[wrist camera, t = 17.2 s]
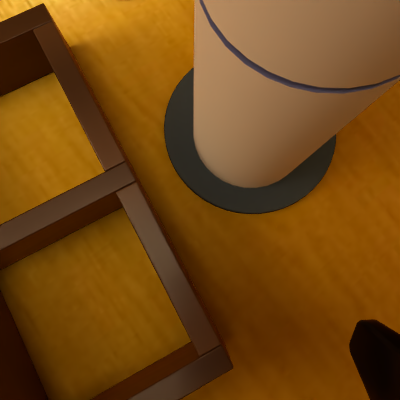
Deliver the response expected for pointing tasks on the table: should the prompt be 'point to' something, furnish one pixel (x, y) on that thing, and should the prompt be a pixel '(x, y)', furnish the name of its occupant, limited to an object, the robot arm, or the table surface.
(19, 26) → the rectangular frame
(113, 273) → the table surface
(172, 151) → the coaster
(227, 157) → the cylindrical container
